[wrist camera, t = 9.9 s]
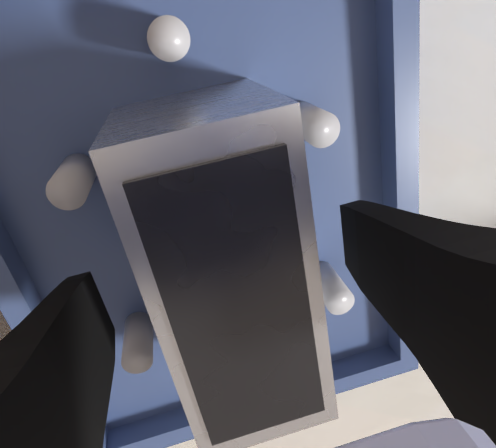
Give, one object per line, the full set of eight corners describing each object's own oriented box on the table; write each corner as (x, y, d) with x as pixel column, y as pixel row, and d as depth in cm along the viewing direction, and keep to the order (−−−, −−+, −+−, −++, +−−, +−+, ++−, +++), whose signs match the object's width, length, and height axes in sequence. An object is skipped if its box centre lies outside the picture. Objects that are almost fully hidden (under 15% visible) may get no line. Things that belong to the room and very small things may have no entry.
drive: (246, 77, 12) (302, 103, 8) (288, 313, 16) (340, 422, 12) (113, 107, 12) (87, 153, 7) (189, 341, 16) (203, 466, 11)
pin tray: (380, -105, 12) (445, -146, 9) (394, 338, 19) (432, 385, 17) (-132, -12, 10) (-230, -28, 8) (98, 427, 18) (89, 495, 15)
